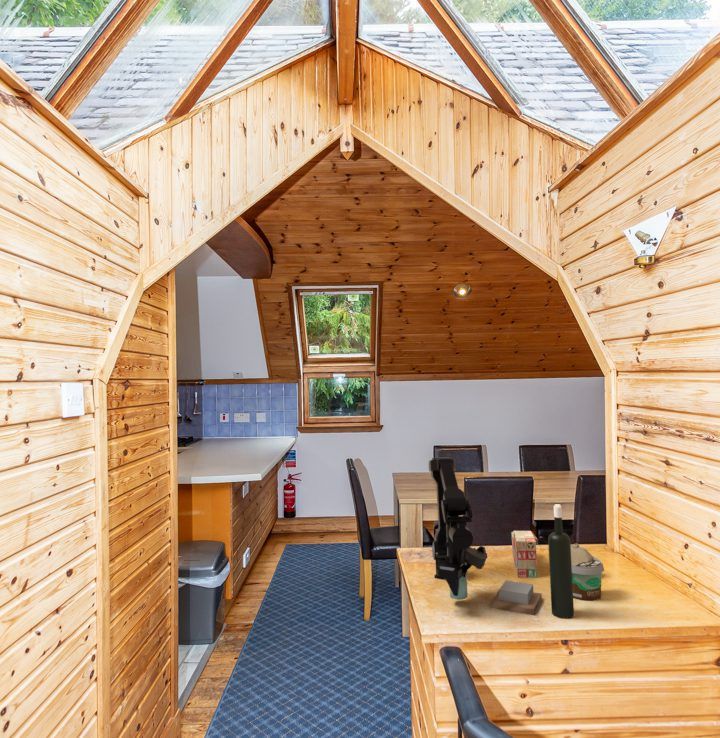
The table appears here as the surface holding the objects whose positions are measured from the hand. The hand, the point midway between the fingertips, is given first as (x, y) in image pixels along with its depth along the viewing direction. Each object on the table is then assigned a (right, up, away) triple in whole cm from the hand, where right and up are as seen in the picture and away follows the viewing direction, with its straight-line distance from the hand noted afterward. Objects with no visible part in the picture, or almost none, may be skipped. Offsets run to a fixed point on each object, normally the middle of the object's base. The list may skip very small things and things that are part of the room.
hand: (458, 592), depth 155 cm
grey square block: (+17, -1, -1) cm, 17 cm away
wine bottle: (+27, -2, -9) cm, 29 cm away
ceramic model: (+43, -3, +21) cm, 48 cm away
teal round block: (0, -1, 0) cm, 1 cm away
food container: (+40, -2, +1) cm, 40 cm away
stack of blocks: (+28, -4, +29) cm, 41 cm away
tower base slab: (+17, -4, -1) cm, 17 cm away
